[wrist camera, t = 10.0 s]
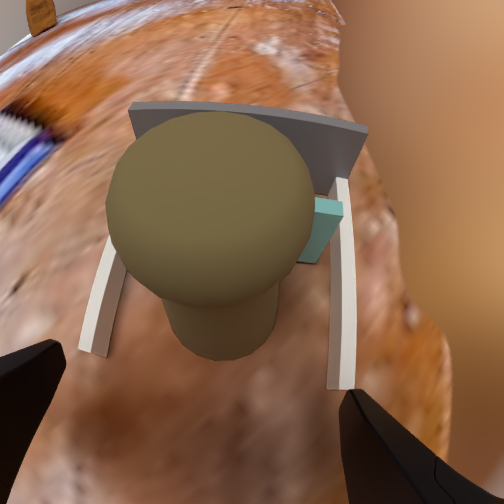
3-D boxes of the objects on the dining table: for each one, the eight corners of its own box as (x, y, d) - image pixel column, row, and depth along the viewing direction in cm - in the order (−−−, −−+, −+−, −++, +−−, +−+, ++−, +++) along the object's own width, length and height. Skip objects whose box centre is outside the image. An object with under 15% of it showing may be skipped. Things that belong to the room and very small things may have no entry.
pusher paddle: (315, 263, 16) (343, 216, 12) (147, 242, 16) (122, 191, 12) (315, 251, 17) (342, 201, 12) (151, 231, 17) (127, 178, 12)
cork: (293, 280, 16) (367, 124, 6) (251, 379, 14) (297, 363, 4) (198, 240, 17) (169, 70, 7) (148, 330, 14) (22, 220, 5)
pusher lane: (339, 389, 14) (397, 387, 8) (94, 354, 13) (31, 331, 8) (337, 188, 20) (366, 125, 14) (151, 167, 19) (133, 102, 14)
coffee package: (58, 20, 51) (48, -28, 32) (59, 24, 47) (47, -30, 27) (32, 33, 48) (20, -14, 29) (30, 39, 44) (16, -14, 24)
